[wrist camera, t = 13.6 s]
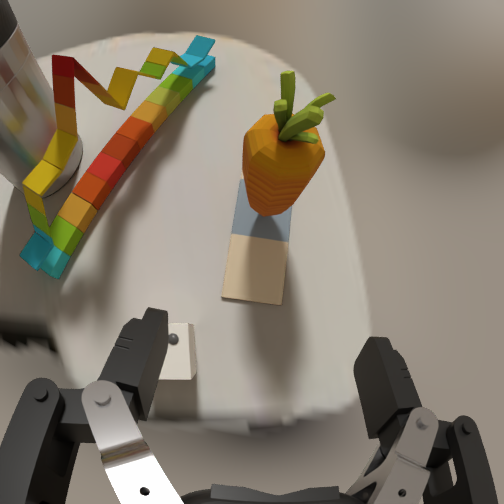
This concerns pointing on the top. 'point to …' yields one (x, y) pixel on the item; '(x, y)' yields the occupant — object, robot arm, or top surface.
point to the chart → (112, 155)
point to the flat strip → (256, 254)
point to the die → (180, 353)
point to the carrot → (282, 151)
